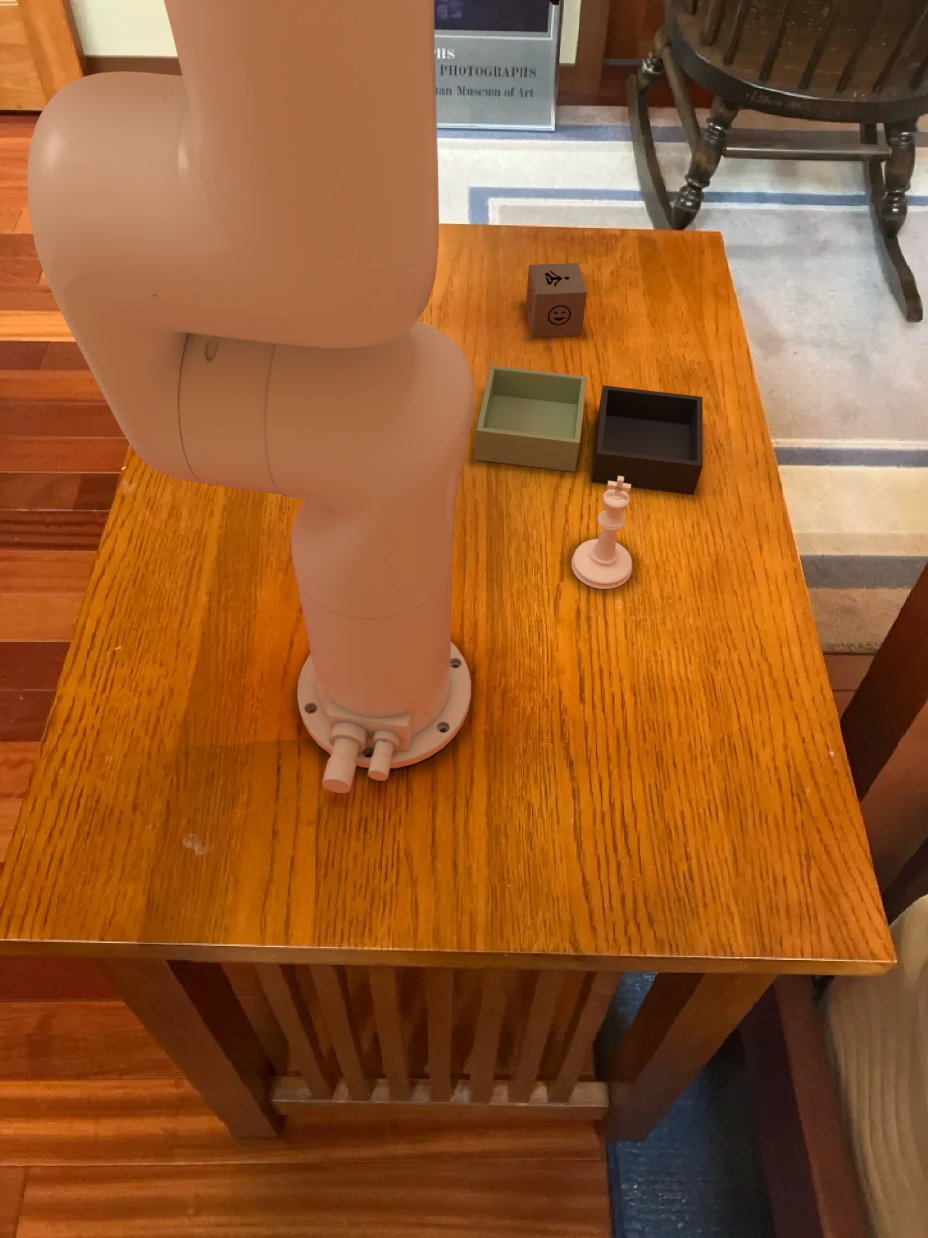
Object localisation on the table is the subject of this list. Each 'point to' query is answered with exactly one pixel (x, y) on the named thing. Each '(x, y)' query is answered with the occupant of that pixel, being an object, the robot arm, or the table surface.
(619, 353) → the table surface
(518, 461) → the sage bin
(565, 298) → the dice cube
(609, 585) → the chess piece
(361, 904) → the table surface
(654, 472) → the charcoal bin
